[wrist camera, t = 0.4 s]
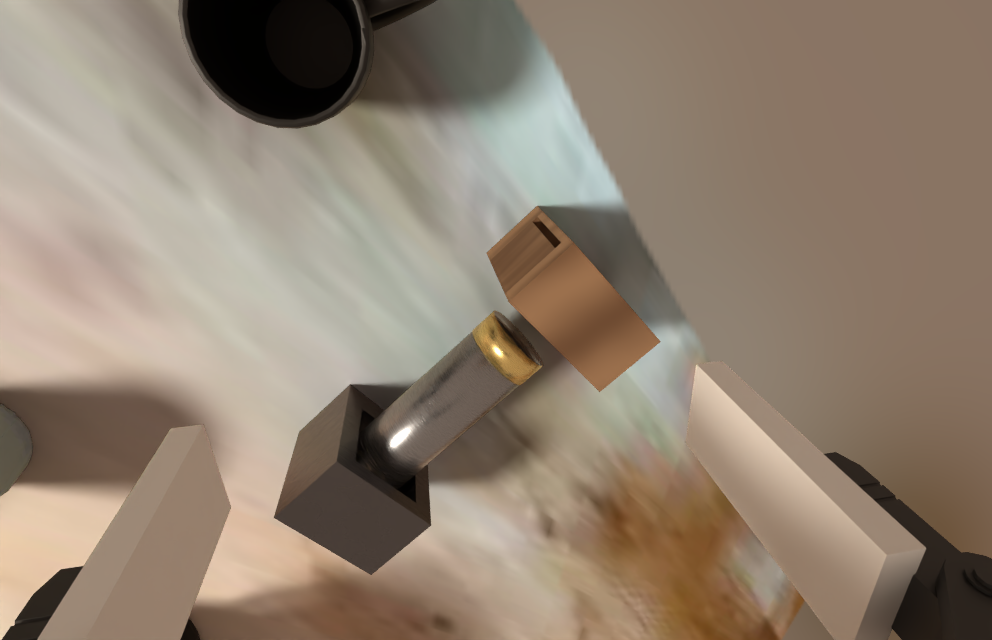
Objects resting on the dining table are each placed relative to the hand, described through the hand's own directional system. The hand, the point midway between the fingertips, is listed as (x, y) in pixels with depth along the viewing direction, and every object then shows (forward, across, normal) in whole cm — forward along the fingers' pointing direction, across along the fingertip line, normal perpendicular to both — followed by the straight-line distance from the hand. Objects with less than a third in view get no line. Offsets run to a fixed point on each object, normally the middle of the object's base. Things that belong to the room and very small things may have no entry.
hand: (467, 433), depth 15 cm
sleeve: (+26, -7, -19) cm, 32 cm away
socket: (+26, +9, -6) cm, 28 cm away
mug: (+26, -4, +11) cm, 29 cm away
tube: (+23, -2, -15) cm, 28 cm away
